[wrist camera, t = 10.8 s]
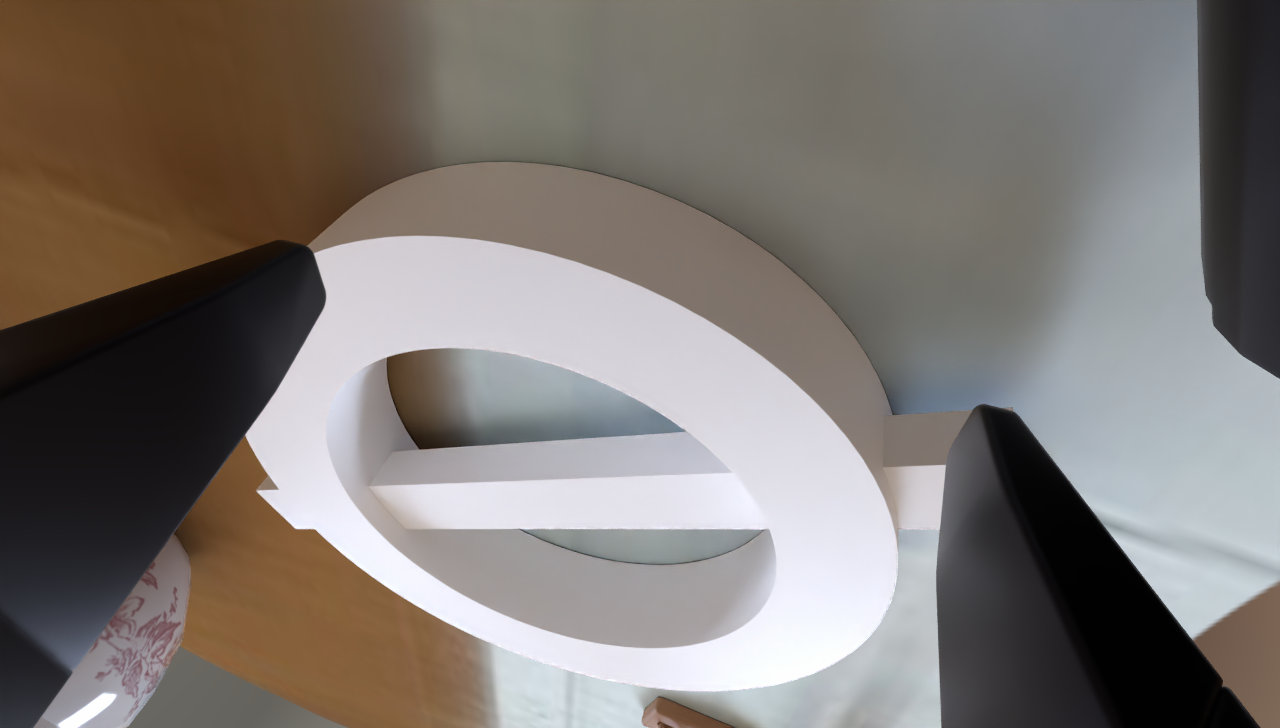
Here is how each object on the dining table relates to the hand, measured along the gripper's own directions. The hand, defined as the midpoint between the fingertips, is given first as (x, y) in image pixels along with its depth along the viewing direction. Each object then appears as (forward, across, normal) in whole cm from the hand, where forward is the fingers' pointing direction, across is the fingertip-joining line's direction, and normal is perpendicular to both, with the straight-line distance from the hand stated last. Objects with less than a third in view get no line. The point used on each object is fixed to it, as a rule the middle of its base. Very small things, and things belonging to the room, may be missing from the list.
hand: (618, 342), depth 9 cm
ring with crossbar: (+13, +5, +19) cm, 24 cm away
